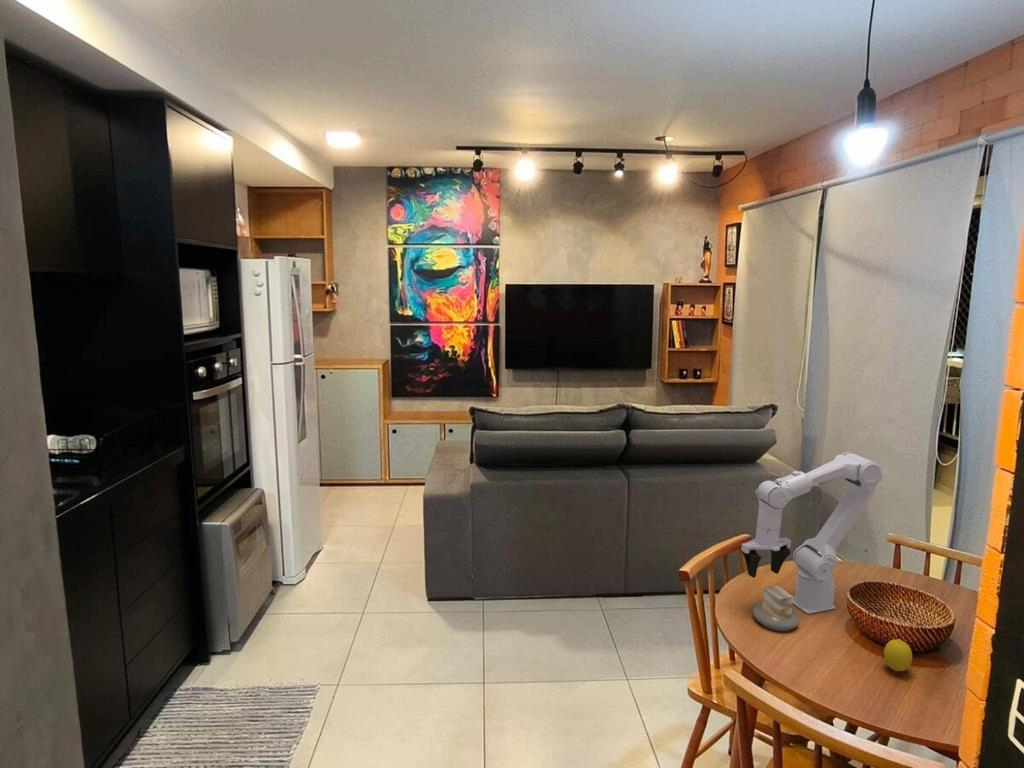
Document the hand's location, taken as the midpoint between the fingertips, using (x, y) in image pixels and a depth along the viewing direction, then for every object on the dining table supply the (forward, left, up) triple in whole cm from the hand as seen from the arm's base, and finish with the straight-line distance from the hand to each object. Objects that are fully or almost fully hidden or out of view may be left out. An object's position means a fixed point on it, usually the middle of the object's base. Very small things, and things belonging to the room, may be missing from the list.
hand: (763, 573), depth 166 cm
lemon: (-12, +31, -11) cm, 35 cm away
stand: (0, +6, -10) cm, 12 cm away
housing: (0, +6, -8) cm, 10 cm away
